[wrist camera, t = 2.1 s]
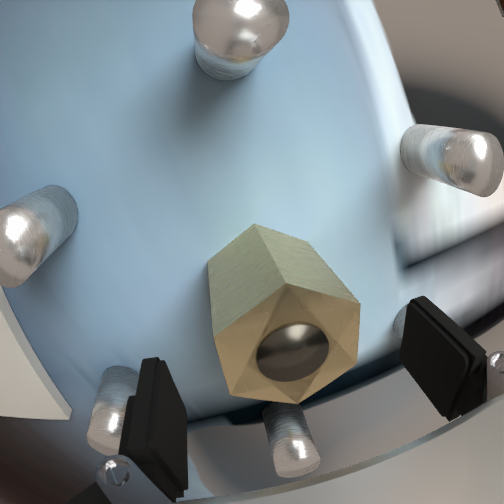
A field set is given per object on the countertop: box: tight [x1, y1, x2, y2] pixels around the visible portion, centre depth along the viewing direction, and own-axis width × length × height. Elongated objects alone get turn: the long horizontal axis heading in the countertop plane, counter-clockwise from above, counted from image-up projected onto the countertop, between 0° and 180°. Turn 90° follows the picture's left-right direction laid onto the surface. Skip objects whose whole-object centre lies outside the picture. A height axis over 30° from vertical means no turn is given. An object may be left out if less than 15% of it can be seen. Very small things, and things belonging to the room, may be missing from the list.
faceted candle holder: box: [208, 224, 360, 404], centre depth 13 cm, size 6×5×6 cm
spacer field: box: [0, 0, 504, 478], centre depth 14 cm, size 25×22×5 cm
